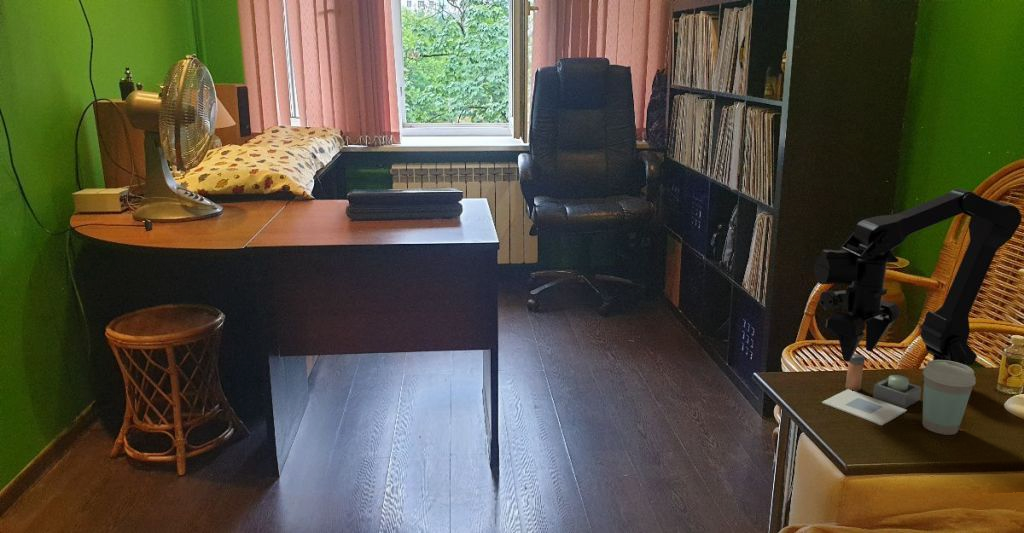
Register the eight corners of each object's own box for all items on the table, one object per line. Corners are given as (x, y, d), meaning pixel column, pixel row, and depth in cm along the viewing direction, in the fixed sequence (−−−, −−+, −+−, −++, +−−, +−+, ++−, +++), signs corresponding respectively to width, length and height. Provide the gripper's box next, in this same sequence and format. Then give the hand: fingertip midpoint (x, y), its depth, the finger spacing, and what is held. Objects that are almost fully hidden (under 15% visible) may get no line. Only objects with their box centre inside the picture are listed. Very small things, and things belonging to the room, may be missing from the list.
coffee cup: (973, 440, 138) (985, 379, 135) (921, 435, 140) (932, 374, 137) (956, 419, 146) (967, 360, 143) (908, 415, 148) (918, 356, 145)
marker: (849, 383, 162) (854, 352, 160) (862, 388, 159) (867, 357, 158) (842, 387, 160) (846, 355, 158) (855, 392, 158) (860, 360, 156)
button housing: (887, 389, 159) (889, 376, 158) (919, 400, 154) (921, 387, 154) (872, 397, 155) (874, 384, 155) (904, 408, 151) (906, 395, 150)
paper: (847, 390, 158) (847, 388, 158) (906, 411, 149) (907, 409, 149) (821, 403, 152) (822, 401, 152) (881, 425, 143) (882, 423, 143)
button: (892, 384, 157) (894, 373, 156) (910, 390, 154) (912, 379, 153) (884, 388, 155) (885, 377, 154) (902, 394, 152) (904, 383, 151)
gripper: (853, 266, 165) (843, 335, 169) (805, 281, 154) (797, 354, 158) (905, 278, 157) (894, 350, 161) (859, 295, 146) (849, 371, 150)
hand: (857, 356), depth 158 cm, fingers open, 9 cm apart
